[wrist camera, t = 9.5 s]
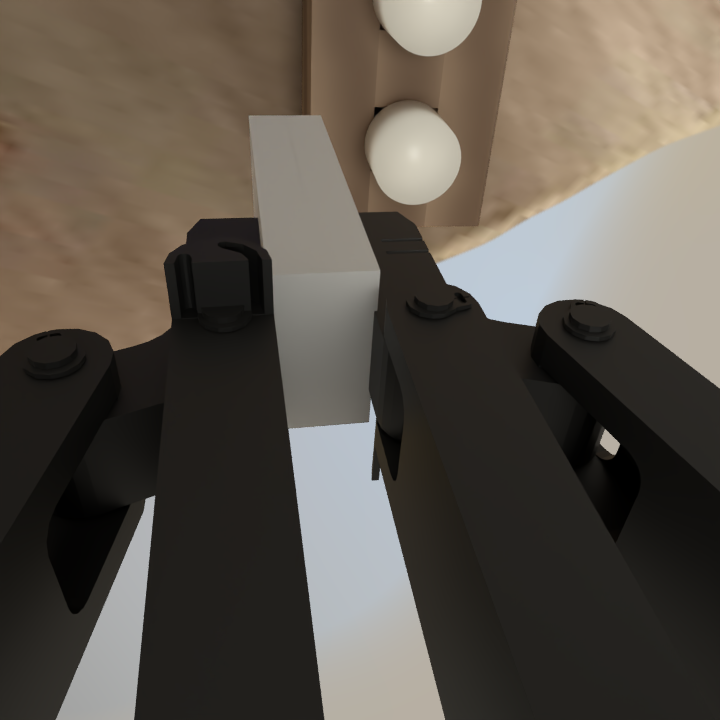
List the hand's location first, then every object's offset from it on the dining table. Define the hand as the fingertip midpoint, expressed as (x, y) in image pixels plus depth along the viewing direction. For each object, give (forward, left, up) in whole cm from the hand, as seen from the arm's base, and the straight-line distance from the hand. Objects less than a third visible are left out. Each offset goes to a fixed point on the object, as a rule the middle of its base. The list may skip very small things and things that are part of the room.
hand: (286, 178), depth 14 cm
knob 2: (+7, -6, -26) cm, 27 cm away
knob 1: (+7, +1, -26) cm, 27 cm away
